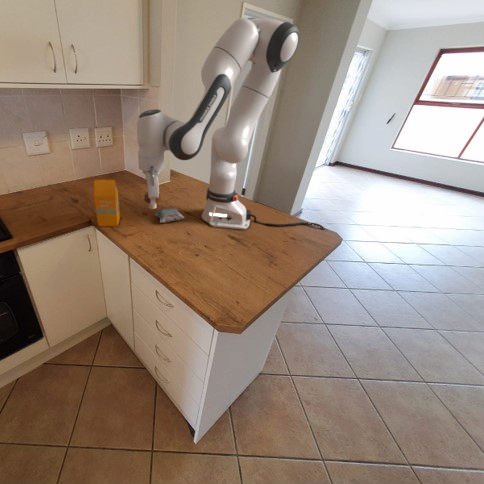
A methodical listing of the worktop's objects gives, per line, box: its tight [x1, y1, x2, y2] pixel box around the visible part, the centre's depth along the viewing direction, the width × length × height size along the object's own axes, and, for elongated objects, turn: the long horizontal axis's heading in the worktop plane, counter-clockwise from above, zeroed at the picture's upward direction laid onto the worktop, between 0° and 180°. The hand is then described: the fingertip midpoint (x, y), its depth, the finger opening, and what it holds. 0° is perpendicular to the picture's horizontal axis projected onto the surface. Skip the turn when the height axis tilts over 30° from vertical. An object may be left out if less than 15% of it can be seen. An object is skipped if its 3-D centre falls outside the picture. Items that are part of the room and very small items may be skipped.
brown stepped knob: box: [143, 191, 161, 210], centre depth 94 cm, size 6×6×6 cm
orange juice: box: [93, 178, 121, 227], centre depth 108 cm, size 8×9×20 cm
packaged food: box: [154, 207, 186, 224], centre depth 115 cm, size 9×12×5 cm
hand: (152, 199), depth 94 cm, fingers closed on brown stepped knob, 6 cm apart
